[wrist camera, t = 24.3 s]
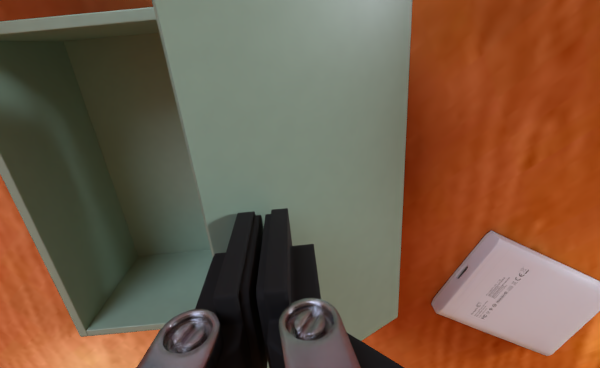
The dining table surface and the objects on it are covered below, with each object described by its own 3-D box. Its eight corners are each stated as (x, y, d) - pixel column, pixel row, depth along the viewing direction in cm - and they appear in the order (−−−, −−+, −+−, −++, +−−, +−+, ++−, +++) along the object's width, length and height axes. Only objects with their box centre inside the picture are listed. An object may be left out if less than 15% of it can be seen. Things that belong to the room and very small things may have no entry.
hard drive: (535, 343, 31) (429, 302, 28) (601, 280, 28) (489, 228, 25) (548, 358, 29) (437, 316, 27) (619, 294, 26) (502, 240, 24)
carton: (58, 34, 19) (-73, 28, 12) (363, 5, 19) (406, -18, 12) (136, 257, 25) (80, 337, 18) (365, 236, 25) (393, 307, 18)
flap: (146, -20, 8) (148, -23, 7) (406, -18, 12) (413, -20, 11) (247, 408, 14) (250, 414, 14) (393, 313, 18) (398, 317, 18)
